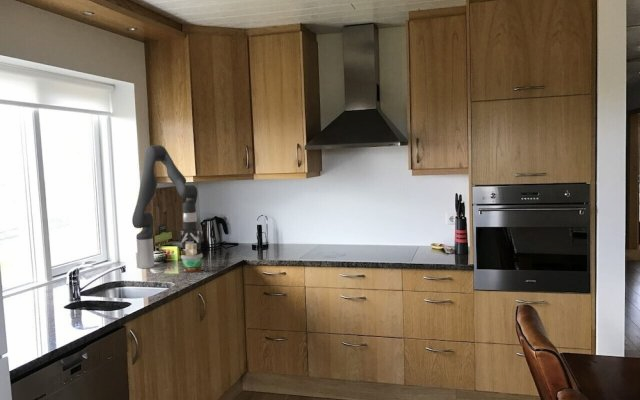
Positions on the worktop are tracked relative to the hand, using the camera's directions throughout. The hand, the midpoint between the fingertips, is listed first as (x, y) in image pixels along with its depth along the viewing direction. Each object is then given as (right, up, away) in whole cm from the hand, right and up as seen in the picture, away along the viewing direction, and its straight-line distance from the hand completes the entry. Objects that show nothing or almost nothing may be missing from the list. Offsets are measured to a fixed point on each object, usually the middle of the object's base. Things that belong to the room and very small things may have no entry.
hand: (191, 249), depth 297 cm
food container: (0, -13, +1) cm, 13 cm away
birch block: (0, -3, 0) cm, 3 cm away
